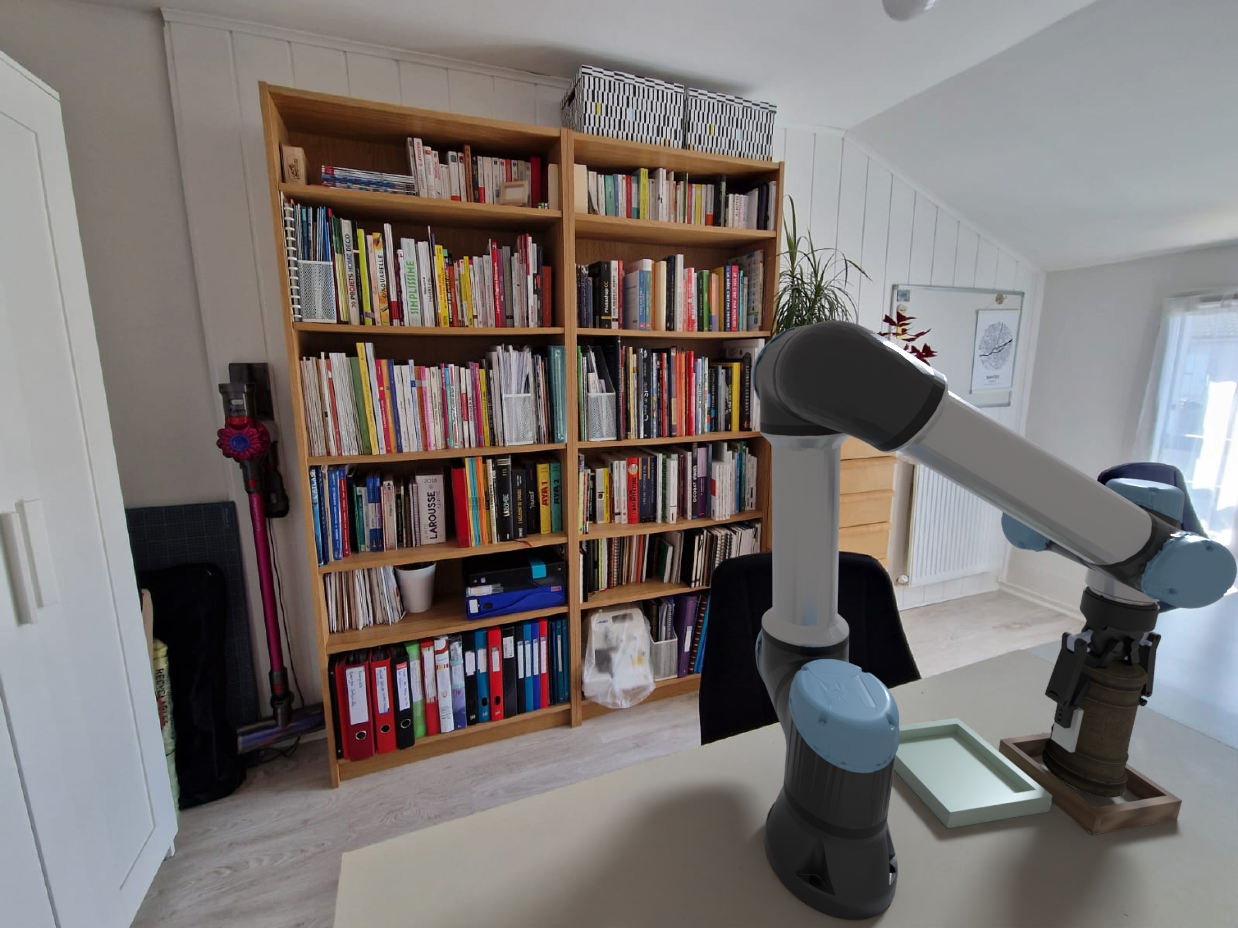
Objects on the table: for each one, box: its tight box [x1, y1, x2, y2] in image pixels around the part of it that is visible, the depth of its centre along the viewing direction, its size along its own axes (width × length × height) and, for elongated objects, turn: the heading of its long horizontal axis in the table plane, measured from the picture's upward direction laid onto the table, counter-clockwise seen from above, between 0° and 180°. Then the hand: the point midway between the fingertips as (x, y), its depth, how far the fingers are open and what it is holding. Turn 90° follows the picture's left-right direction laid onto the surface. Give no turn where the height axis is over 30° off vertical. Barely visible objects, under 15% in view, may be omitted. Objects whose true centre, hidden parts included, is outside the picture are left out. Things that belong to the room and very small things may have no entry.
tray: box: [894, 717, 1052, 829], centre depth 77 cm, size 16×16×2 cm
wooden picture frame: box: [998, 732, 1183, 836], centre depth 75 cm, size 14×14×3 cm
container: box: [1041, 652, 1148, 799], centre depth 74 cm, size 9×9×18 cm
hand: (1087, 741), depth 74 cm, fingers closed on container, 8 cm apart
